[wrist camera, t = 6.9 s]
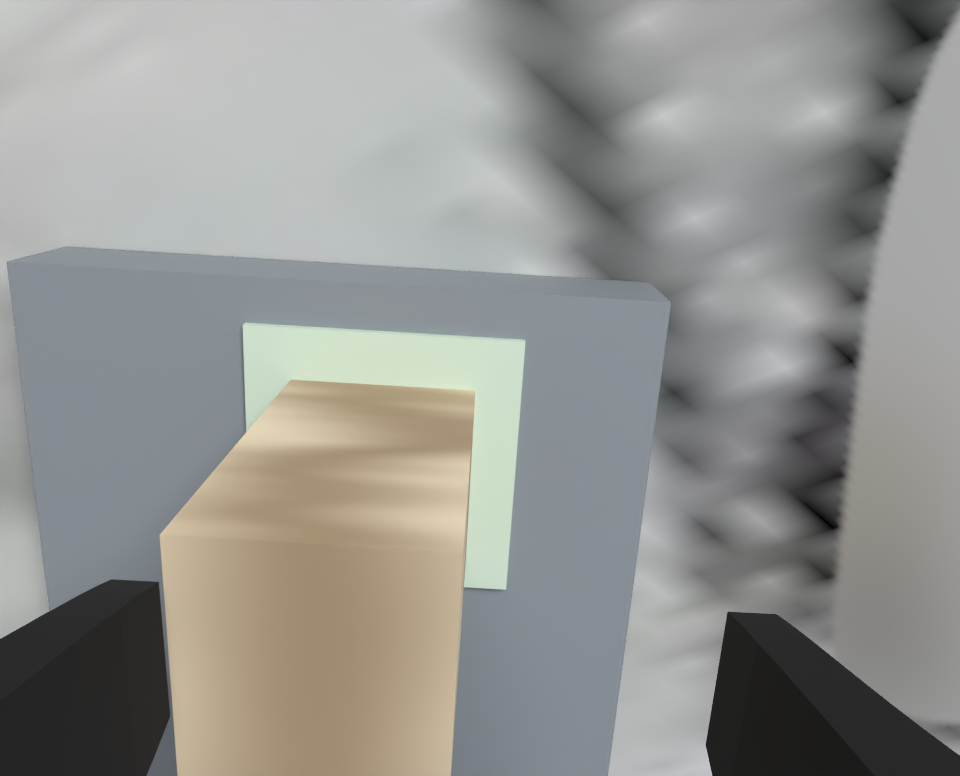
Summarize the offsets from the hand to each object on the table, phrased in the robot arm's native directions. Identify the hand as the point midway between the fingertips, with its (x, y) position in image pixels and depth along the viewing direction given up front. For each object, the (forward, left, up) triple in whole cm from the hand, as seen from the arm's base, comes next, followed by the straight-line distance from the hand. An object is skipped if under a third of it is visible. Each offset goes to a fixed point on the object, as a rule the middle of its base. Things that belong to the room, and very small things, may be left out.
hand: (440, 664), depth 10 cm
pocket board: (+3, +5, -10) cm, 12 cm away
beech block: (+2, +1, -8) cm, 8 cm away
